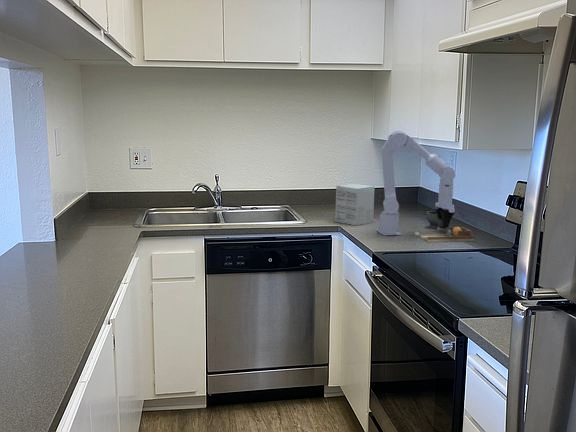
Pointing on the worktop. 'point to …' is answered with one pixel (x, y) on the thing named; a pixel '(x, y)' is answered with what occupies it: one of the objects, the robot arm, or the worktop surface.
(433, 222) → the mortar and pestle
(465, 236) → the pitch
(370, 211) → the supplement box
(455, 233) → the ball
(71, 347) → the worktop surface
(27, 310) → the worktop surface
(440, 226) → the kicker
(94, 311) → the worktop surface
